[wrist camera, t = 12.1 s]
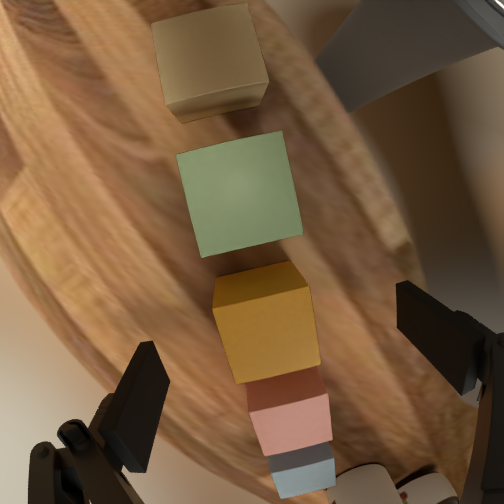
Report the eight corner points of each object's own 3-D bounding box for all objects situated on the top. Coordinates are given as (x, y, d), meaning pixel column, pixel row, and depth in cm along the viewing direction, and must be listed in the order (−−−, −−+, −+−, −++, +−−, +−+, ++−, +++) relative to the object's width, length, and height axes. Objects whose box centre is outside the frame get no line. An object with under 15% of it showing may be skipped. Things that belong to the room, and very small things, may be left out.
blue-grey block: (319, 417, 23) (334, 457, 18) (323, 448, 25) (336, 485, 20) (264, 430, 23) (270, 473, 18) (274, 460, 24) (280, 499, 20)
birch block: (242, 40, 16) (247, 2, 11) (260, 105, 17) (269, 81, 13) (168, 57, 16) (150, 23, 11) (181, 123, 17) (165, 105, 12)
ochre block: (290, 259, 20) (309, 285, 15) (303, 325, 21) (321, 364, 16) (215, 277, 20) (211, 308, 15) (234, 342, 21) (235, 384, 16)
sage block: (268, 143, 18) (282, 130, 13) (285, 220, 19) (304, 234, 14) (189, 161, 18) (175, 154, 13) (208, 238, 19) (201, 258, 14)
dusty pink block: (310, 352, 22) (328, 393, 17) (317, 398, 23) (332, 440, 18) (244, 367, 22) (248, 412, 17) (258, 412, 23) (264, 456, 18)
